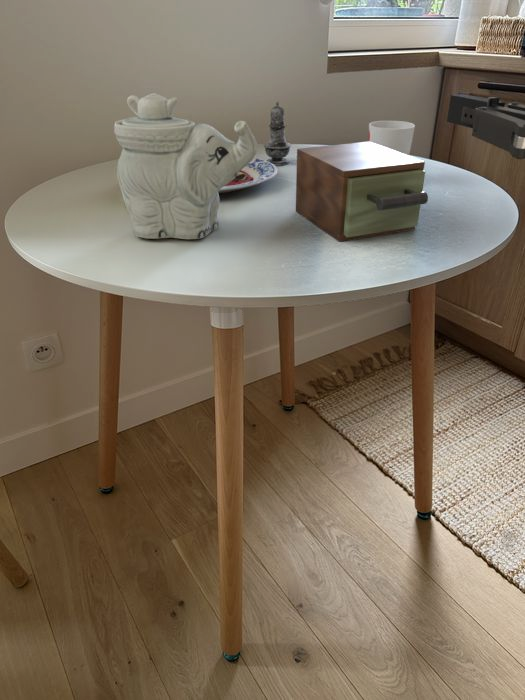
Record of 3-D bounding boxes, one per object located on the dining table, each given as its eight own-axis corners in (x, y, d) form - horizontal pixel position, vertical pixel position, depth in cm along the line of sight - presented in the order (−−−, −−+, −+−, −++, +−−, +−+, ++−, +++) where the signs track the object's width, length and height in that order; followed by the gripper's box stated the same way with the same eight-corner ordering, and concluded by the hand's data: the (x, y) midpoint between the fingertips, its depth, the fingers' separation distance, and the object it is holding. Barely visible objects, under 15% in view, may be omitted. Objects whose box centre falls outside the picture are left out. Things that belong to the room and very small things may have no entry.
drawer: (435, 236, 76) (445, 178, 71) (363, 248, 72) (369, 188, 68) (368, 200, 90) (373, 150, 85) (305, 209, 86) (306, 158, 82)
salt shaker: (273, 157, 119) (273, 98, 113) (296, 161, 117) (297, 100, 110) (258, 163, 115) (257, 102, 109) (281, 167, 113) (281, 104, 106)
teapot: (262, 232, 80) (260, 93, 70) (179, 261, 71) (164, 106, 61) (193, 208, 90) (183, 82, 80) (114, 230, 81) (91, 93, 71)
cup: (380, 172, 108) (386, 119, 103) (415, 180, 103) (423, 124, 98) (355, 180, 103) (360, 124, 98) (391, 189, 98) (398, 130, 93)
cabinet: (415, 229, 81) (425, 161, 75) (339, 241, 77) (344, 171, 71) (363, 201, 92) (369, 141, 87) (295, 211, 88) (296, 148, 83)
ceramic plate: (274, 163, 115) (274, 149, 113) (281, 200, 93) (281, 183, 92) (152, 166, 114) (150, 151, 113) (130, 203, 93) (128, 186, 91)
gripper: (577, 213, 41) (399, 149, 59) (695, 192, 45) (494, 138, 63) (610, 106, 37) (408, 73, 55) (736, 93, 41) (509, 66, 59)
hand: (454, 107), depth 59 cm, fingers closed
